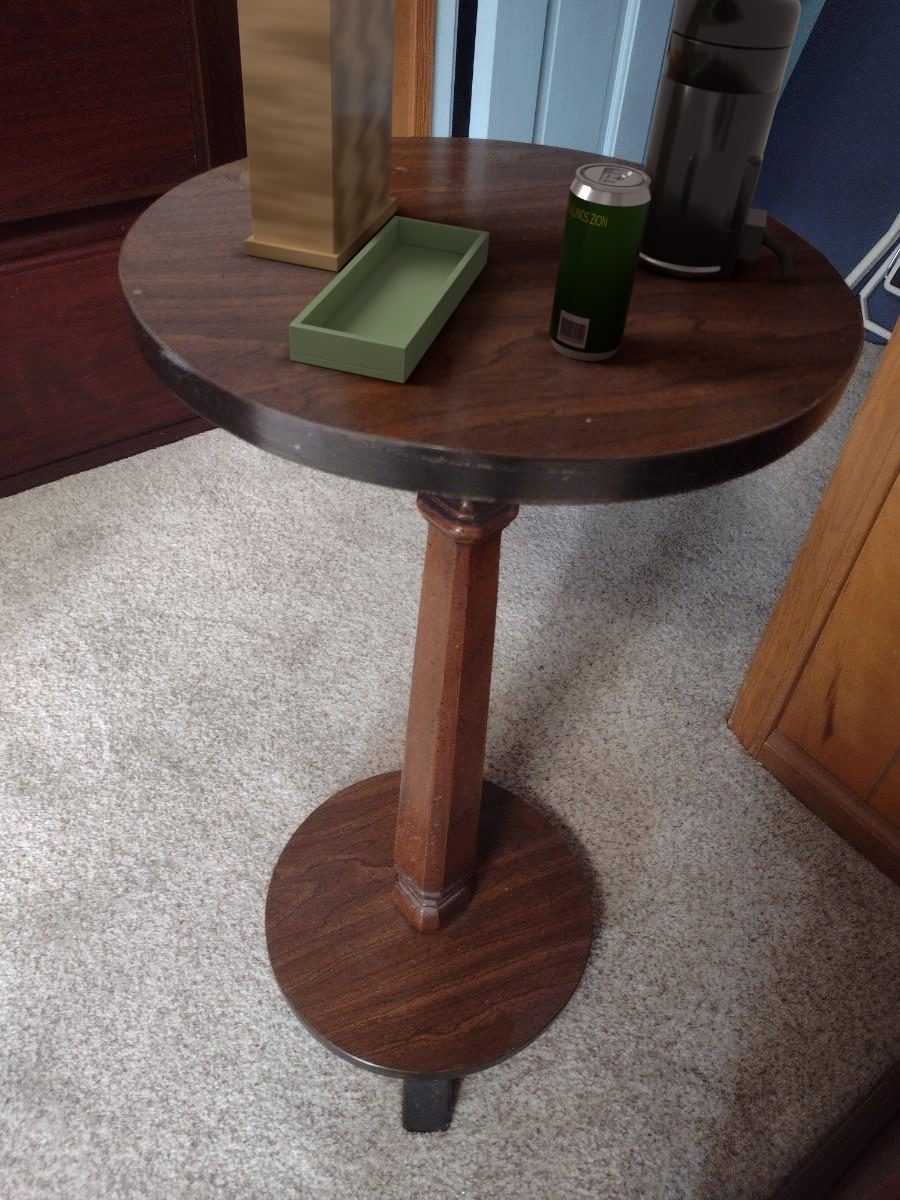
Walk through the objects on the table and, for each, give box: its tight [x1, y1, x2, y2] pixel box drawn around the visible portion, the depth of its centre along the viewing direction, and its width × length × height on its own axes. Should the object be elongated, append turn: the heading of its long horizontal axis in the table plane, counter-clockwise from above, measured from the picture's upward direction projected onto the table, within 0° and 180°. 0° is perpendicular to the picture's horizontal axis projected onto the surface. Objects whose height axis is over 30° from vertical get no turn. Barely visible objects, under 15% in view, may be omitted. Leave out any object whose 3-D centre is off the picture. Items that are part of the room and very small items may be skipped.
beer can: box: [548, 162, 651, 362], centre depth 67 cm, size 5×5×12 cm
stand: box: [236, 0, 398, 273], centre depth 74 cm, size 15×8×30 cm, turn 164°
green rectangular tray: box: [288, 215, 490, 384], centre depth 73 cm, size 22×8×3 cm, turn 164°
